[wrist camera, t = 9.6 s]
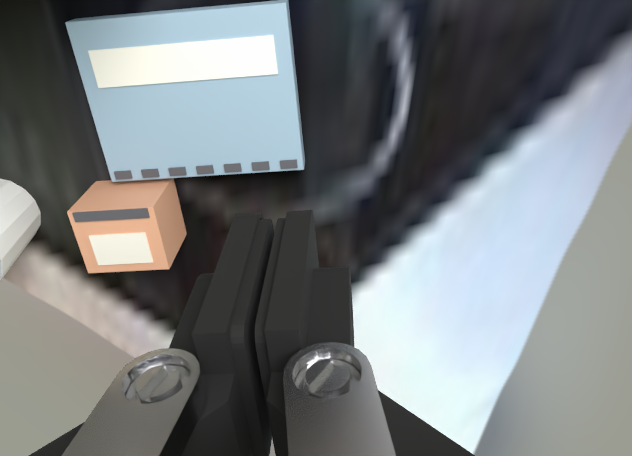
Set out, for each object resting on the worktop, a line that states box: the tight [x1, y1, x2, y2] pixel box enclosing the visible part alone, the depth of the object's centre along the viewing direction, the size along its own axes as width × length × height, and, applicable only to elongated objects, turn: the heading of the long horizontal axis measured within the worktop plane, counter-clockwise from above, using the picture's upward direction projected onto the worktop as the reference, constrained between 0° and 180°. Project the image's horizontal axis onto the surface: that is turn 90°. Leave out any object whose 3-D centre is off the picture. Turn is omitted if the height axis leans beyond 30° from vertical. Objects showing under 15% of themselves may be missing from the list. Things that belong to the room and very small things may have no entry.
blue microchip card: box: [65, 0, 305, 182], centre depth 37 cm, size 11×14×2 cm
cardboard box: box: [67, 178, 187, 273], centre depth 40 cm, size 5×6×5 cm
